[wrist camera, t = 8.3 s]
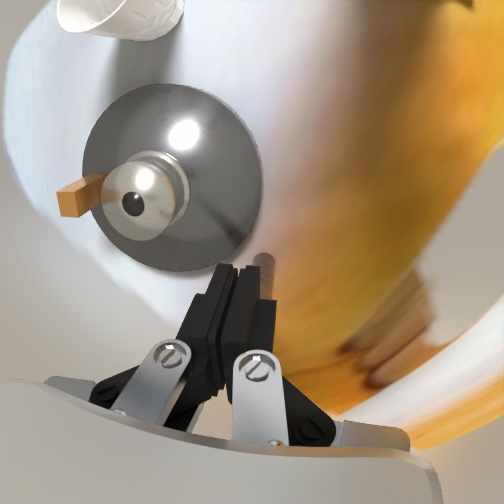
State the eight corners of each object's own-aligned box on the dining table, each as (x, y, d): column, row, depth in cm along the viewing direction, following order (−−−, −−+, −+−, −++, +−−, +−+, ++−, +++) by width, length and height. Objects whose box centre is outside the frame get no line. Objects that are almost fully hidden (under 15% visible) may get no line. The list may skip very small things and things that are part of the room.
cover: (187, 146, 23) (168, 155, 19) (195, 226, 26) (180, 246, 23) (115, 154, 23) (90, 164, 20) (127, 225, 27) (107, 243, 24)
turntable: (269, 83, 21) (261, 74, 14) (257, 271, 30) (247, 319, 24) (86, 97, 22) (38, 104, 16) (105, 252, 32) (73, 286, 26)
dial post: (286, 269, 31) (277, 395, 17) (270, 280, 32) (252, 404, 18) (247, 233, 29) (209, 352, 16) (232, 246, 30) (187, 365, 17)
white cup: (146, 61, 21) (82, 52, 12) (108, 22, 18) (44, 9, 10) (207, 7, 18) (164, -32, 9) (161, -29, 15) (110, -64, 7)
